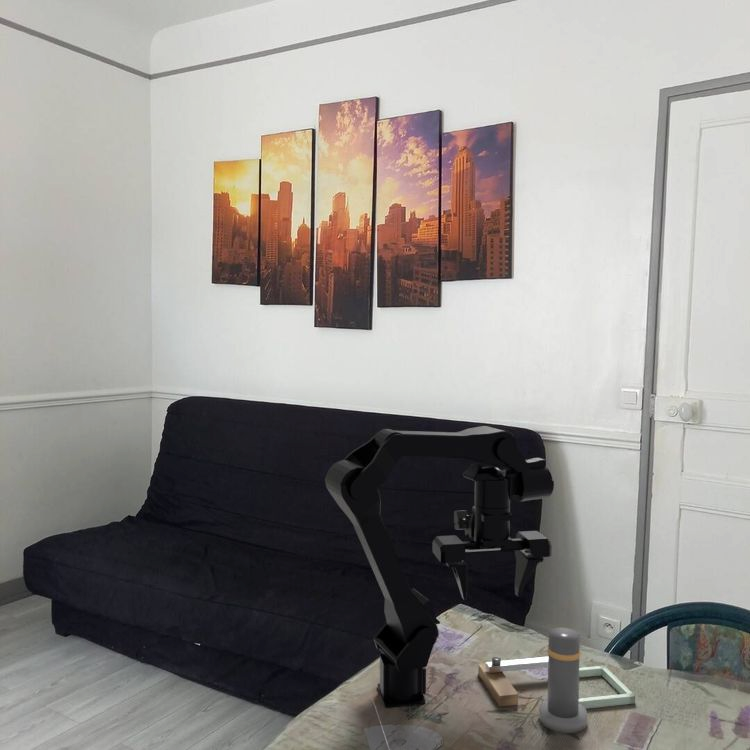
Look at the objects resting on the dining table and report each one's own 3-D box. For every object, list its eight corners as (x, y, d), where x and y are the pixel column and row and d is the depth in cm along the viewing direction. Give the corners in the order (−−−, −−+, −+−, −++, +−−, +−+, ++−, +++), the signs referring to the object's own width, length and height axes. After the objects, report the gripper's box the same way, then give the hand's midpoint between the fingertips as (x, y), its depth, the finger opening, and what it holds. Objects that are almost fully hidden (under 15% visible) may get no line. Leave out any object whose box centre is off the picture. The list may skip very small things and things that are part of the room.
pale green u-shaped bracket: (576, 709, 106) (576, 701, 106) (549, 677, 116) (549, 670, 115) (634, 703, 108) (635, 695, 108) (603, 672, 117) (604, 665, 117)
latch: (489, 672, 113) (489, 662, 113) (485, 668, 114) (485, 657, 114) (564, 665, 115) (565, 655, 115) (560, 661, 117) (560, 650, 117)
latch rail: (499, 706, 107) (499, 695, 107) (478, 674, 117) (478, 664, 117) (518, 704, 107) (518, 694, 107) (495, 672, 117) (495, 662, 117)
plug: (551, 735, 99) (552, 647, 98) (531, 709, 106) (532, 626, 105) (595, 730, 101) (597, 642, 100) (573, 704, 107) (574, 622, 106)
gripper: (527, 490, 124) (525, 576, 126) (424, 494, 121) (424, 582, 122) (553, 506, 113) (551, 600, 115) (442, 512, 110) (441, 608, 111)
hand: (490, 597), depth 116 cm, fingers open, 9 cm apart
